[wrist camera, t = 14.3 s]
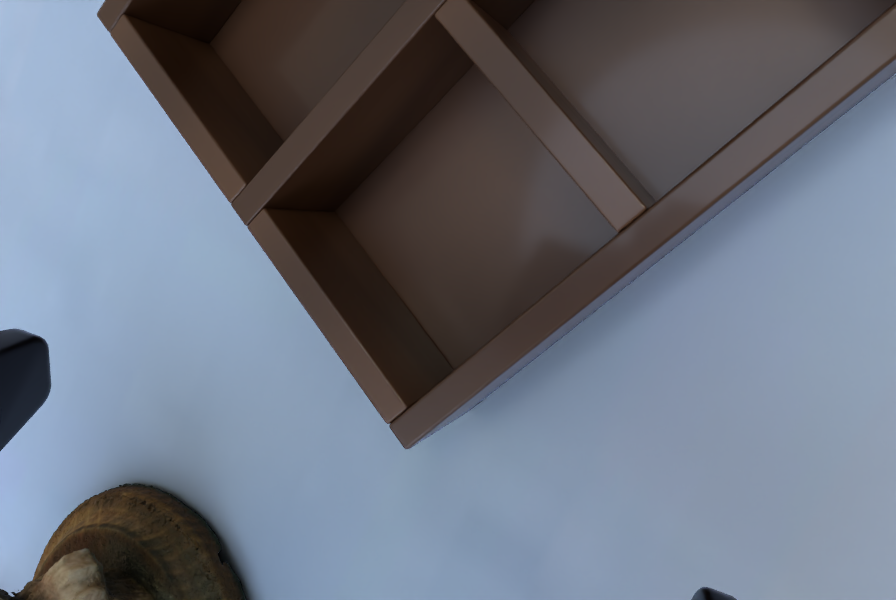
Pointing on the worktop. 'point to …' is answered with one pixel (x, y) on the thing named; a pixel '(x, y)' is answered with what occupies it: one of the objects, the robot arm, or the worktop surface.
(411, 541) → the worktop surface
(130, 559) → the beige bust sculpture
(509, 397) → the worktop surface
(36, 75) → the worktop surface
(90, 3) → the worktop surface
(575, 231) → the rack
